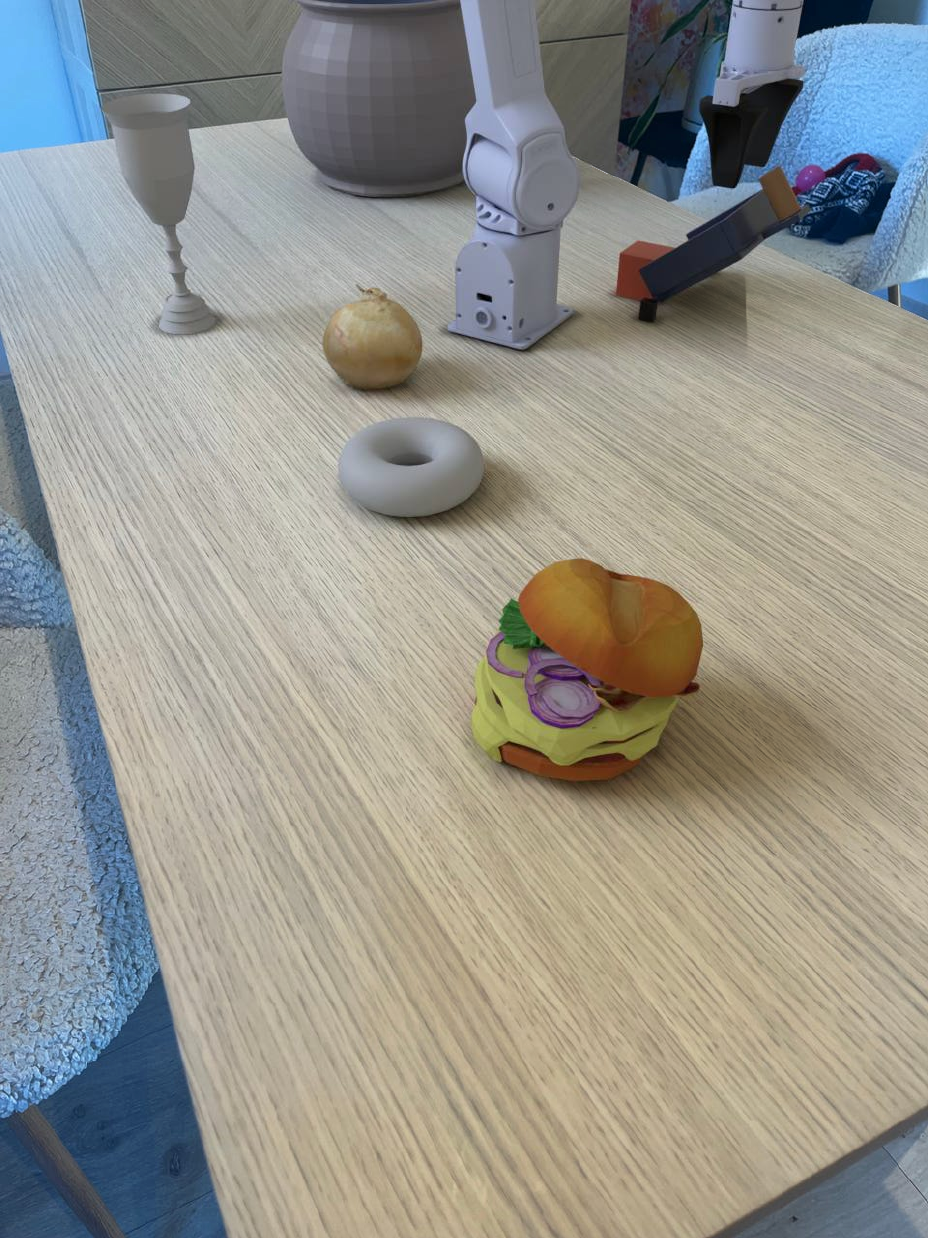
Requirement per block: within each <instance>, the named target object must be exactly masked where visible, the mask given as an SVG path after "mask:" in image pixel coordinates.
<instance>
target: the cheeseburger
mask: <svg viewBox="0 0 928 1238" xmlns="http://www.w3.org/2000/svg"><path fill="white" fill-rule="evenodd" d="M501 611H502V614H503V615H502V616H501V617H500V618H499V619H498V622H499V624H500V626H499V628H498V631H497V632H496V633H495V634H494V635H493V636H492V638H491V639H490V640H489V643H488V645H487V648H486V650H485V655H484V656H483V657H482V659H481V660H480V661H479V662H478V665H477V667H476V671H475V674H474V692H475V699H474V707H473V708H472V712H471V713H472V714H471V720H470V721H471V724H470V727H471V731H472V734H473V737H474V741H475V743H477V744H478V745H479V746H480V747H481V748H482V750H483V751H484V752H485V753H486V754H487V755H488V756H489V757H490V759H491V760H493V761H495V762H497V763H501V762H502V759H503V761H505V762H506V763H507V764H510V765H513V766H515V767H517V768H520V769H523V770H524V771H527V772H530V773H531V774H535V775H537V776H540V777H541V776H542V777H547V778H553V779H562V780H566V781H573V782H580V781H598V780H599V781H601V780H602V781H603V780H605V781H606V780H611V779H612V778H615V777H617V776H619V775H621V774H623V773H625V772H626V771H629V770H631V769H632V768H635V767H637V766H638V765H639V763H640V761H641V760H642V759H643V757H644V755H646V754H647V753H648V752H649V751H651V750H652V749H655V748H656V747H657V746H658V744H659V740H660V737H661V734H662V733H663V731H664V730H665V728H666V726H667V724H668V722H669V721H668V720H669V718H670V716H671V713H672V712H673V711H674V709H675V708H676V705H677V703H678V700H679V698H689V697H691V696H694V695H696V694H698V693H699V691H700V688H701V684H699V683H698V682H697V681H696V682H695V681H694V679H695V678H696V676H697V673H698V669H699V665H700V661H701V657H702V652H703V649H704V640H703V639H704V638H703V637H704V636H703V627H702V622H701V620H700V618H699V615H698V613H697V611H696V610H695V609H694V607H692V605H691V604H690V603H689V602H688V600H686V599H685V598H684V596H682V594H681V593H680V592H679V591H677V590H676V589H674V588H673V587H671V586H669V585H668V584H665V583H664V582H661V581H658V580H655V579H652V578H648V577H644V576H639V575H632V574H626V573H618V572H615V571H613V570H610V569H606V568H605V567H604V566H602V565H601V564H600V563H597V562H595V561H593V560H590V559H586V558H582V557H580V558H571V559H564V560H557V561H554V562H553V563H551V564H549V565H548V566H546V567H545V568H542V569H541V570H540V571H538V572H536V573H535V574H534V576H533V577H531V579H530V580H529V581H528V582H527V583H526V585H525V586H524V587H523V589H522V591H521V592H520V594H519V596H518V598H517V600H514V599H512V598H510V599H509V601H508V602H507V603H506V604H505V606H503V608H501Z"/></svg>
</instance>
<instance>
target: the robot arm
mask: <svg viewBox="0 0 928 1238" xmlns="http://www.w3.org/2000/svg"><path fill="white" fill-rule="evenodd" d="M460 2H461V8H462V14H463V21H464V27H465V33H466V39H467V45H468V51H469V58H470V64H471V70H472V76H473V82H474V89H475V95H476V103H475V105H474V106H473V108H472V109H471V110H470V112H469V113H468V114H467V116H466V118H465V125H466V132H467V145H466V149H465V153H464V158H463V175H464V179H465V180H464V182H465V184H466V186H467V188H468V189H469V190H470V192H471V193H472V194H474V195H475V226H474V231H473V232H472V233H473V234H472V236H471V238H470V239H469V241H468V242H466V244H465V245H464V246H463V247H462V248H461V250H460V251H459V252H458V254H457V256H456V260H455V268H454V284H455V286H454V288H455V291H454V292H455V319H454V320H453V321H451V322H450V323H448V324H447V331H448V332H451V333H455V334H459V335H463V336H467V337H471V338H475V339H478V340H482V341H486V342H489V343H494V344H497V345H501V346H505V347H508V348H513V349H516V350H521V351H523V350H527V349H528V348H529V347H530V346H532V345H533V344H535V343H536V342H537V341H538V340H540V339H541V338H543V337H544V336H545V335H547V334H548V333H550V332H551V331H553V330H554V329H555V328H556V327H558V326H559V325H560V324H562V323H563V322H565V321H566V320H568V318H570V317H571V316H573V315H574V314H575V309H574V308H573V307H571V306H567V305H563V304H558V303H557V302H558V285H559V283H558V281H559V266H560V249H561V248H560V247H561V230H562V228H563V227H564V220H565V219H566V218H567V216H568V215H569V214H570V213H571V212H572V210H573V208H574V207H575V204H576V202H577V200H578V197H579V193H580V190H581V189H580V188H581V174H580V173H581V172H580V169H579V166H578V163H577V161H576V160H575V159H574V157H573V155H572V154H571V153H570V152H571V151H570V150H569V148H568V145H567V141H566V133H565V127H564V125H563V121H561V119H560V117H559V115H558V114H557V111H556V110H555V108H554V107H553V104H552V102H551V101H550V100H549V98H548V96H547V94H546V89H545V88H546V87H545V80H544V71H543V63H542V54H541V45H540V37H539V28H538V21H537V20H538V19H537V12H536V11H537V10H536V4H535V0H460ZM803 5H804V0H732V4H731V11H730V17H729V18H730V19H729V25H728V26H729V27H728V33H727V39H726V46H725V54H724V60H722V61H721V64H720V65H721V66H720V73H719V76H718V77H716V78H715V81H714V88H713V95H711V94H708V95H705V96H703V97H702V98H700V99H699V105H698V112H699V115H700V117H701V120H702V122H703V125H704V128H705V133H706V136H707V139H708V140H707V141H708V147H709V157H710V172H711V181H712V186H713V187H720V188H724V189H725V188H726V189H731V190H732V189H733V190H734V189H736V188H737V186H739V182H740V181H741V177H742V175H743V171H744V168H745V166H752V167H757V168H765V167H766V166H767V164H768V162H769V160H770V157H771V155H772V152H773V150H774V147H775V144H776V141H777V139H778V136H779V133H780V131H781V128H782V127H783V124H784V121H785V119H786V117H787V116H788V113H789V111H790V109H791V108H792V106H793V104H794V103H795V101H796V100H797V98H798V97H799V95H800V94H801V93H802V91H803V89H804V85H805V82H804V81H803V80H801V78H803V77H804V76H805V72H806V67H805V66H803V65H795V64H794V63H795V57H796V50H795V48H796V45H797V39H798V32H799V28H800V21H801V15H802V10H803Z"/></svg>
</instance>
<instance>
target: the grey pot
mask: <svg viewBox="0 0 928 1238" xmlns="http://www.w3.org/2000/svg"><path fill="white" fill-rule="evenodd" d="M293 1H294V2H296V3H297V4H299V5H300V6H301V13H300V15H299V17H298V20H297V21H296V23H295V25H294V26H293V28H292V30H291V32H290V34H289V36H288V39H287V41H286V43H285V46H284V51H283V56H282V64H281V65H282V67H281V89H282V98H283V103H284V110H285V114H286V118H287V122H288V125H289V129H290V132H291V134H292V136H293V139H294V142H295V144H296V145H297V147H298V149H299V151H300V152H301V154H302V155H303V156H304V157H305V158H306V160H308V162H309V163H311V164H312V166H314V167H315V168H317V172H316V175H317V178H318V179H319V180H320V181H321V182H322V183H323V184H325V186H328V187H329V188H331V189H334V190H336V191H339V192H341V193H346V194H350V195H353V196H363V197H374V198H395V197H409V196H417V195H425V194H430V193H436V192H440V191H443V190H447V189H450V188H453V187H455V186H458V185H460V184H462V183H463V182H465V179H464V175H463V158H464V153H465V149H466V145H467V132H466V125H465V118H466V116H467V114H468V113H469V112H470V110H471V109H472V108H473V106H474V105H475V103H476V95H475V89H474V82H473V76H472V70H471V64H470V58H469V51H468V45H467V39H466V33H465V27H464V21H463V14H462V8H461V2H460V0H293Z"/></svg>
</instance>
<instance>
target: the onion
mask: <svg viewBox="0 0 928 1238" xmlns="http://www.w3.org/2000/svg"><path fill="white" fill-rule="evenodd" d="M355 287H356V288H357V289H358V291H359V292H362V293H361V294H362V298H361V299H359V300H357V301H354V302H351V303H348V304H346V305H345V306H342V307H341V308H339V309H338V310H337V311H336V312H334V314H333V315H332V316H331V317H330V318H329V321H328V322H327V325H326V326H325V329H324V332H323V336H322V344H321V347H322V351H323V353H324V356H325V359H326V362H327V363H328V365H329V366H330V368H331V369H332V371H334V373H336V375H337V377H339V379H340V380H342V382H343V383H344V384H345V385H346V386H347V387H349V388H350V389H354V388H357V389H359V390H366V391H367V390H377V389H386V388H390V387H394V386H398V385H400V384H402V383H404V382H406V381H407V379H408V377H409V376H411V375H412V373H413V372H415V371H416V369H418V366H419V363H420V361H421V358H422V356H423V355H422V354H423V344H424V343H423V338H422V332H421V330H420V327H419V325H418V324H417V322H416V320H415V319H414V317H413V316H412V315H411V314H410V313H409V312H408V311H407V310H406V309H405V308H404V307H403V306H402V304H400V303H399V302H397V301H395V300H392V299H390V298H388V295H387V293H386V292H385V291H382V290H381V288H379V287H373V286H372V287H370V288H368V289H364V288H363V287H362V286H360V285H359V284H358V283H356V284H355Z"/></svg>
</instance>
